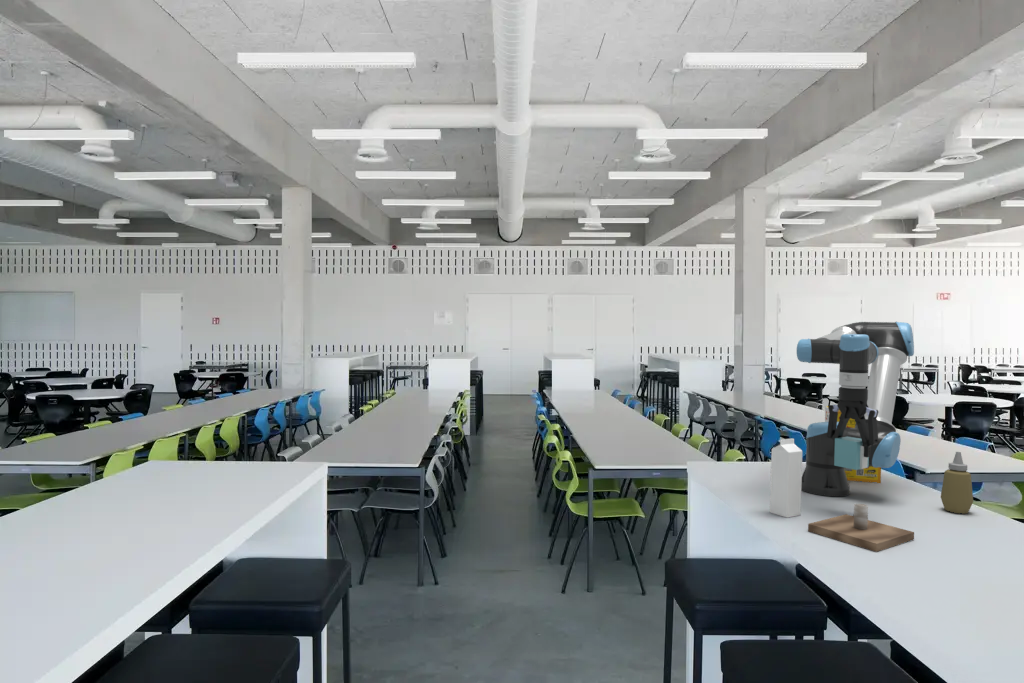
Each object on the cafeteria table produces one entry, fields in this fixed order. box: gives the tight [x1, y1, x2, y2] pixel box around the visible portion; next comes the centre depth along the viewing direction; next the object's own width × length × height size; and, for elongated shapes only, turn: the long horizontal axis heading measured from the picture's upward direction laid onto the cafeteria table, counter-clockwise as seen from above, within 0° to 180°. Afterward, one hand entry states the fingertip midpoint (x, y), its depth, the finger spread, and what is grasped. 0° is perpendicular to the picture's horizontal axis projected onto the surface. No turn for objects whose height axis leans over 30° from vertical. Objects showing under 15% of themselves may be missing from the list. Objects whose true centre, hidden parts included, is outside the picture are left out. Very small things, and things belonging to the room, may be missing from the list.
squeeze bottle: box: [940, 451, 974, 515], centre depth 191 cm, size 8×8×18 cm
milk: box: [769, 438, 803, 519], centre depth 185 cm, size 6×6×22 cm
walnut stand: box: [807, 503, 915, 553], centre depth 167 cm, size 18×18×8 cm
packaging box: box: [824, 405, 882, 484], centre depth 236 cm, size 16×16×25 cm
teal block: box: [834, 436, 869, 470], centre depth 186 cm, size 6×6×8 cm
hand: (851, 465), depth 186 cm, fingers closed on teal block, 6 cm apart
